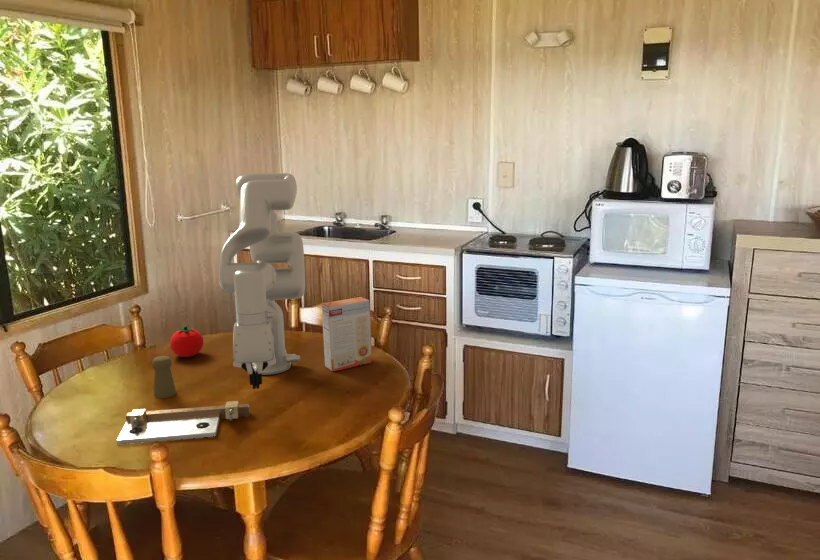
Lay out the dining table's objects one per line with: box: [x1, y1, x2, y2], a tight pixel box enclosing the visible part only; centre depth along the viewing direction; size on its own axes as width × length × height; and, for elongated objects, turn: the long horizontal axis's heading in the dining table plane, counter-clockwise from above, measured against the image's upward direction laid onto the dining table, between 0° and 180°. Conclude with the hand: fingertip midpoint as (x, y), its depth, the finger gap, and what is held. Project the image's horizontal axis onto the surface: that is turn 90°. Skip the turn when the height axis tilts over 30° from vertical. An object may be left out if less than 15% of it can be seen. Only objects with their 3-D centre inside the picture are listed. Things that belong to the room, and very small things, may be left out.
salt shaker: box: [151, 355, 177, 399], centre depth 193 cm, size 6×6×11 cm
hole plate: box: [116, 403, 251, 446], centre depth 173 cm, size 30×14×4 cm, turn 100°
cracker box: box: [321, 296, 372, 373], centre depth 212 cm, size 14×6×21 cm, turn 121°
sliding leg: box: [225, 400, 240, 421], centre depth 175 cm, size 3×6×3 cm, turn 10°
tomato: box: [169, 324, 204, 358], centre depth 223 cm, size 10×10×10 cm
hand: (256, 386), depth 175 cm, fingers closed
